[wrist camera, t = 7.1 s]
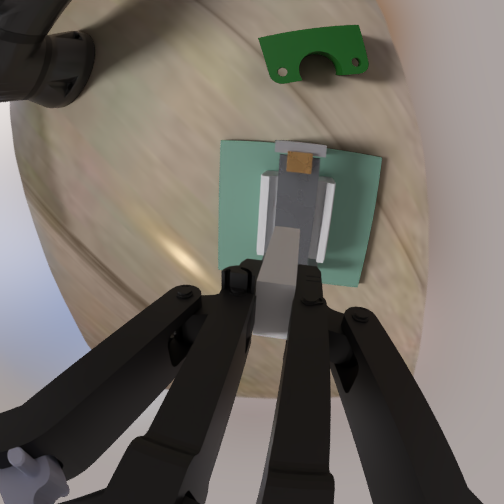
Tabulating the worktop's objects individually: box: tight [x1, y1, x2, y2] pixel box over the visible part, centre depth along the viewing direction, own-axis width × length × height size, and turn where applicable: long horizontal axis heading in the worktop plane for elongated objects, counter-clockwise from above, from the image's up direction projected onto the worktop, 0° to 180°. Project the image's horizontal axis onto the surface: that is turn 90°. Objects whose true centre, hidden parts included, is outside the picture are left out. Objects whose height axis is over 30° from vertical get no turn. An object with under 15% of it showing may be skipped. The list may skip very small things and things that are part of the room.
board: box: [218, 140, 382, 287], centre depth 32 cm, size 18×20×8 cm
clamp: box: [258, 25, 369, 84], centre depth 24 cm, size 12×6×9 cm, turn 96°
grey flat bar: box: [274, 151, 320, 265], centre depth 28 cm, size 14×4×2 cm, turn 176°
